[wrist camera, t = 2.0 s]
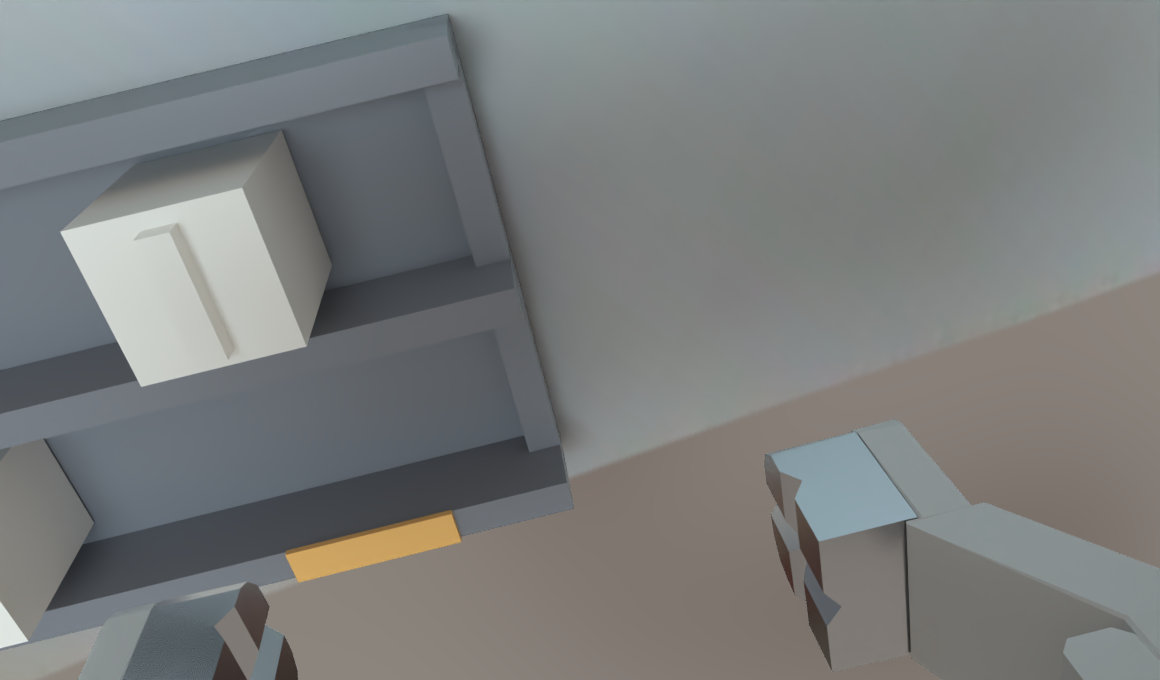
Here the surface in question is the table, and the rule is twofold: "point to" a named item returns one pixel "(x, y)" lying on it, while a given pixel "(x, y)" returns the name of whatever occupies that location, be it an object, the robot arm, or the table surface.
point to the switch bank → (293, 378)
